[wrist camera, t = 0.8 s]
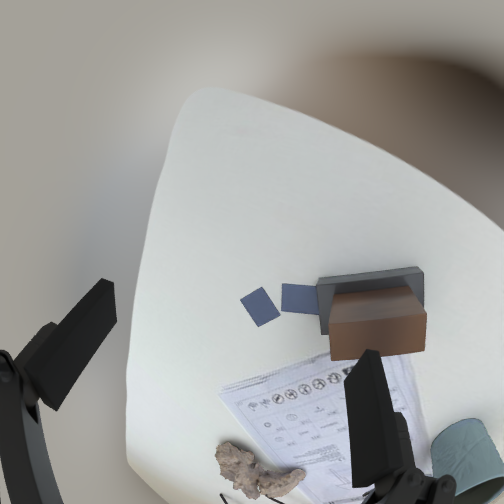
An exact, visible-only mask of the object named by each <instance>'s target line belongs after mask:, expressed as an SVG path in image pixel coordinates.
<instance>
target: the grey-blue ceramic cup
mask: <svg viewBox="0 0 504 504" xmlns="http://www.w3.org/2000/svg"><path fill="white" fill-rule="evenodd" d="M431 458H432V465H433V466H432V469H433V478H440V477H441V476H443V475H446V474H449V475H451V476H453V477H454V478H455V480H456V483H457V488H456V493H455V498H454V503H453V504H488V503H490V502H491V501H493V500H494V499H495V498H496V497H498V496H499V495H500V494H501V493H502V492H503V491H504V463H503V461H502V459H501V458H500V455H499V453H498V451H497V450H496V447H495V445H494V443H493V441H492V439H491V438H490V436H489V435H488V433H487V430H486V428H485V426H484V424H483V423H482V422H481V421H480V420H478V419H465V420H462V421H459V422H457V423H455V424H452V425H451V426H450V427H448V428H446V429H445V430H444V431H443V432H442V433H441V434H439V435H438V437H437V438H436V439H435V440H434V442H433V444H432V446H431Z"/></svg>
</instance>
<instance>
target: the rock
mask: <svg viewBox="0 0 504 504" xmlns="http://www.w3.org/2000/svg"><path fill="white" fill-rule="evenodd" d="M216 449H217V450H216V454H215V457H216V458H217V459H216V460H217V461H218V463H219V465H220V469H221V473H220V475H222V476H223V477H225V479H229V480H230V481H233V482H234V484H233V489H235V490H238V489H240V488H241V489H242V491H243V493H245V494H246V496H247V497H248V498H249V499H251V498H253V499H255V500H256V499H257V498H258V497H260V494H259V493H261V494H262V495H266V494H267V496H268V497H271V498H275V497H282V496H284V495H286V494H287V493H289V492H290V491H291V490H292V489H293V488H294V487H295V486H297V485H298V483H299V481H301V480H302V481H303V479H304V478H305V475H306V474H305V472H304V471H302V469H295V470H293V471H292V472H289V473H277V472H273V471H270V470H267V471H265V470H264V469H263V467H262V466H261V465H260V462H256V463H251V462H252V461H253V460H254V457H255V456H254V454H253V453H252V452H251V451H249V452H245V451H243V450H242V449H240V450H238V447H235V446H233V445H232V444H230V443H229V442H227V443H224V444H221V445H218V447H217V448H216ZM257 485H258V486H259V490H260V492H259V490H258V489H257V487H258V486H257Z"/></svg>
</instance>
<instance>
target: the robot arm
mask: <svg viewBox="0 0 504 504" xmlns="http://www.w3.org/2000/svg"><path fill="white" fill-rule="evenodd" d="M116 322H117V317H116V306H115V295H114V283H113V282H111V281H108V280H106V279H103V278H101V279H100V280H99V281H98V282H97V283H96V285H94V286H93V288H92V289H91V290H90V291H89V292H88V293H87V294H86V295H85V296H84V297H83V298H82V299H81V300H80V301H79V302H78V303H77V305H76V306H75V307H74V308H73V309H72V310H71V311H70V312H69V313H68V314H67V315H66V317H65V318H64V319H63V320H62V321H61V322H60V323H59V324H58V325H57V324H55V323H53V322H50V323H48V324H47V325H45V326H43V327H42V328H41V329H40V330H39V331H38V333H37V334H36V335H35V336H34V337H33V338H32V339H31V341H30V342H29V343H28V344H27V345H26V346H25V348H24V349H23V350H22V351H21V352H20V353H19V355H18V356H17V357H16V358H15V360H14V361H13V359H12V357H11V356H10V354H9V353H8V352H7V351H5V350H0V458H1V463H2V468H3V473H4V478H5V482H6V486H7V490H8V494H9V498H10V501H11V504H64V503H63V501H62V498H61V495H60V492H59V489H58V486H57V483H56V480H55V477H54V474H53V470H52V467H51V463H50V460H49V456H48V452H47V448H46V443H45V438H44V434H43V429H42V423H41V418H40V411H39V405H38V402H37V401H38V400H39V398H41V399H42V401H43V403H44V404H46V405H47V406H49V407H50V408H52V409H53V410H55V411H58V409H59V407H60V405H61V404H62V402H63V401H64V399H65V398H66V396H67V394H68V393H69V391H70V390H71V388H72V386H73V385H74V383H75V382H76V380H77V379H78V377H79V376H80V374H81V373H82V371H83V370H84V368H85V367H86V365H87V364H88V362H89V361H90V359H91V358H92V356H93V355H94V354H95V352H96V351H97V349H98V348H99V346H100V345H101V343H102V342H103V340H104V339H105V338H106V336H107V335H108V333H109V332H110V331H111V329H112V328H113V326H114V325H115V324H116ZM344 388H345V397H346V406H347V416H348V426H349V438H350V451H351V468H352V488H361V487H368V486H370V485H372V484H374V485H375V488H374V489H372V490H370V491H368V492H366V493H364V494H363V495H362V496H363V497H364V496H366V495H368V494H369V495H368V496H367V497H366V498H365V500H364V501H363V502H362V503H361V504H453V503H454V498H455V493H456V488H457V483H456V480H455V478H454V477H453V476H451V475H449V474H446V475H443V476H441V477H440V478H433V477H428V476H425V475H424V473H423V472H422V471H421V470H420V469H418V468H416V466H415V462H414V456H413V451H412V446H411V441H410V439H409V438H410V436H409V432H408V426H407V422H406V420H405V418H404V416H403V415H402V413H401V412H394V410H393V405H392V401H391V397H390V392H389V388H388V384H387V380H386V376H385V372H384V368H383V365H382V361H381V357H380V354H379V351H376V350H370V349H366V350H365V352H364V353H363V355H362V356H361V357H360V359H359V360H358V362H357V363H356V365H355V366H354V368H353V369H352V370H351V372H350V373H349V374H348V376H347V377H346V379H345V380H344ZM0 504H1V501H0Z"/></svg>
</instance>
